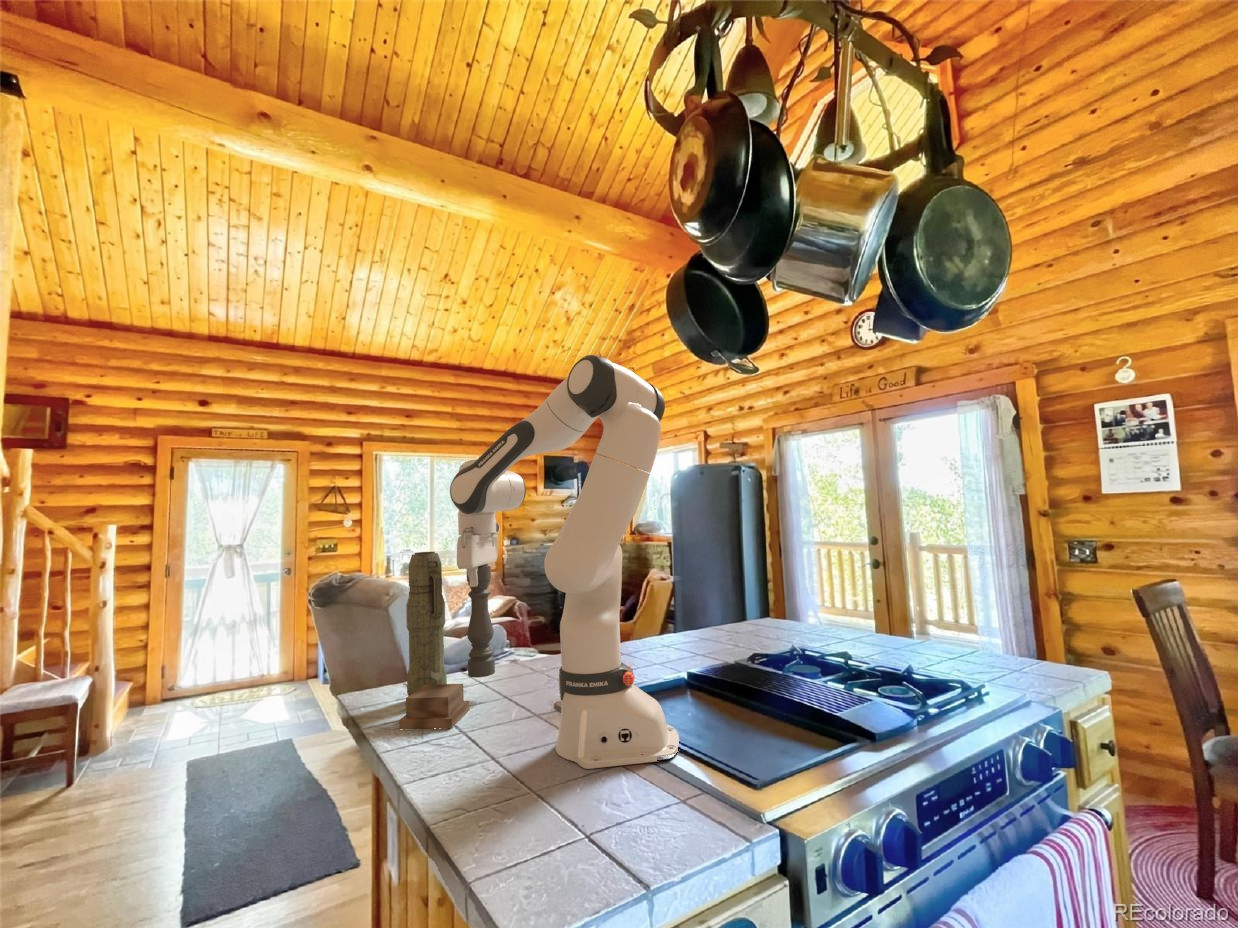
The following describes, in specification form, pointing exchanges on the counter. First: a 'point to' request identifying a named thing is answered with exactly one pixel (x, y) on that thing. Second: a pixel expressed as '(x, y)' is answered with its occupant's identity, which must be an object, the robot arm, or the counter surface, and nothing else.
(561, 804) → the counter surface
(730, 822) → the counter surface
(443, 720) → the walnut stand
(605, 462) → the robot arm
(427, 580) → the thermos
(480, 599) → the candle holder
